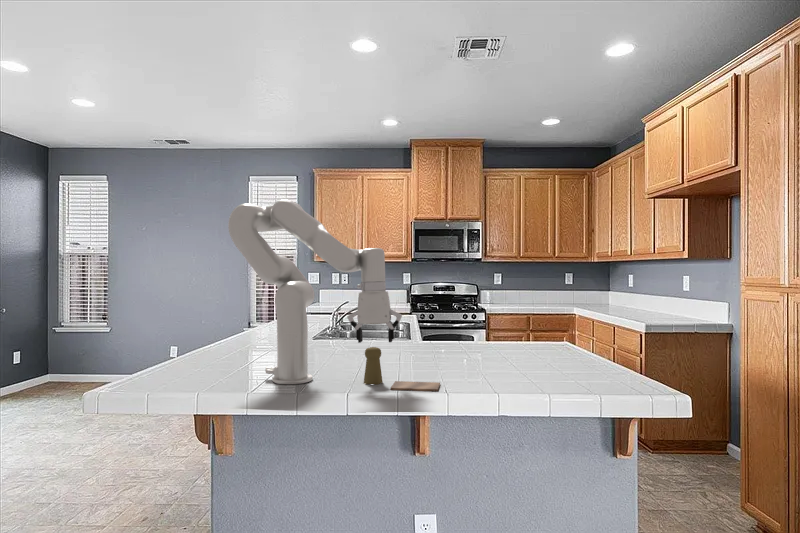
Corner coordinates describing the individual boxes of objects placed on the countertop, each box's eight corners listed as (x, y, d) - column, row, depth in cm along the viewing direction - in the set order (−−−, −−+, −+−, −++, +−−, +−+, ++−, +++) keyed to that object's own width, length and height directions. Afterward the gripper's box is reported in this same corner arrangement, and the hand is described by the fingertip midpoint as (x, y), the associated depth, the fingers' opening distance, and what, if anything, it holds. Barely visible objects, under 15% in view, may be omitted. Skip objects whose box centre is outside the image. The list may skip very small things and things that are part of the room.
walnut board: (390, 389, 156) (390, 387, 156) (395, 383, 165) (395, 381, 165) (437, 391, 154) (437, 389, 154) (440, 384, 163) (440, 382, 163)
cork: (383, 380, 169) (383, 346, 169) (381, 384, 163) (381, 349, 163) (365, 380, 169) (365, 345, 169) (362, 384, 163) (361, 348, 163)
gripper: (343, 288, 163) (345, 344, 163) (399, 287, 161) (400, 343, 161) (349, 287, 171) (351, 340, 171) (402, 286, 168) (404, 340, 168)
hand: (375, 341), depth 166 cm, fingers open, 9 cm apart
